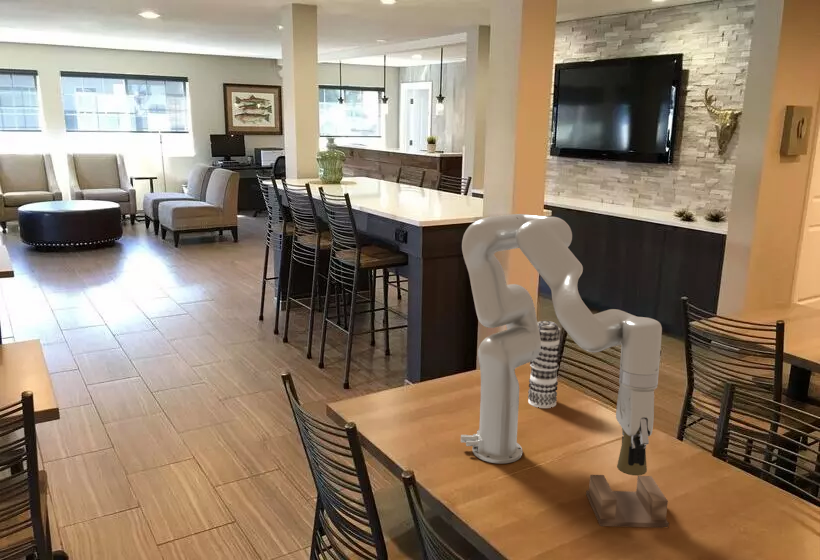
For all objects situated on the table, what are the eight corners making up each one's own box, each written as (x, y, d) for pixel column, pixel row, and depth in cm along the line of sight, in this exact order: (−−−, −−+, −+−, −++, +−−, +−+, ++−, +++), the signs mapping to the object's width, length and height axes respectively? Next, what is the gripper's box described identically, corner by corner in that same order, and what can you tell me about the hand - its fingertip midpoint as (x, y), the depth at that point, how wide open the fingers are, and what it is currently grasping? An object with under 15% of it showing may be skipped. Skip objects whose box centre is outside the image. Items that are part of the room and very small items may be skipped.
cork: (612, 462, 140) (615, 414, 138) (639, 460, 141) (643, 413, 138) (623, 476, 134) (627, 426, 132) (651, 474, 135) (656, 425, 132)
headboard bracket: (600, 525, 134) (602, 502, 133) (586, 494, 146) (587, 472, 145) (668, 527, 134) (670, 503, 133) (648, 495, 146) (651, 473, 145)
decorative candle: (560, 409, 191) (566, 328, 186) (529, 408, 191) (534, 327, 186) (554, 396, 200) (559, 319, 195) (524, 396, 200) (528, 318, 195)
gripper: (608, 363, 142) (603, 441, 145) (632, 392, 125) (626, 479, 129) (643, 364, 141) (637, 441, 145) (672, 393, 125) (664, 479, 129)
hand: (632, 458), depth 137 cm, fingers closed on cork, 4 cm apart
